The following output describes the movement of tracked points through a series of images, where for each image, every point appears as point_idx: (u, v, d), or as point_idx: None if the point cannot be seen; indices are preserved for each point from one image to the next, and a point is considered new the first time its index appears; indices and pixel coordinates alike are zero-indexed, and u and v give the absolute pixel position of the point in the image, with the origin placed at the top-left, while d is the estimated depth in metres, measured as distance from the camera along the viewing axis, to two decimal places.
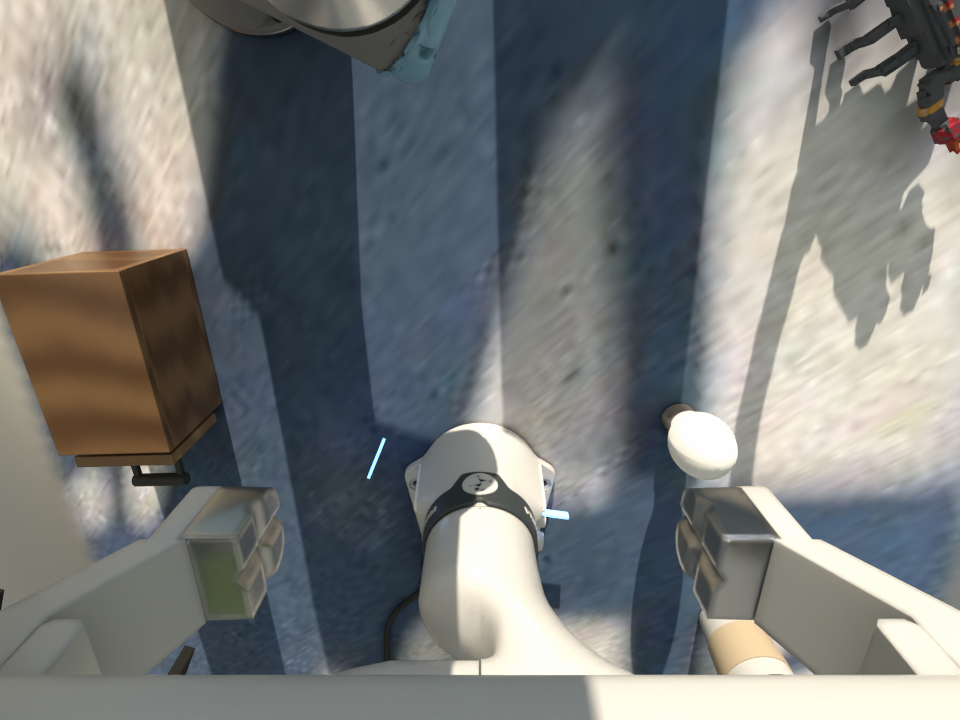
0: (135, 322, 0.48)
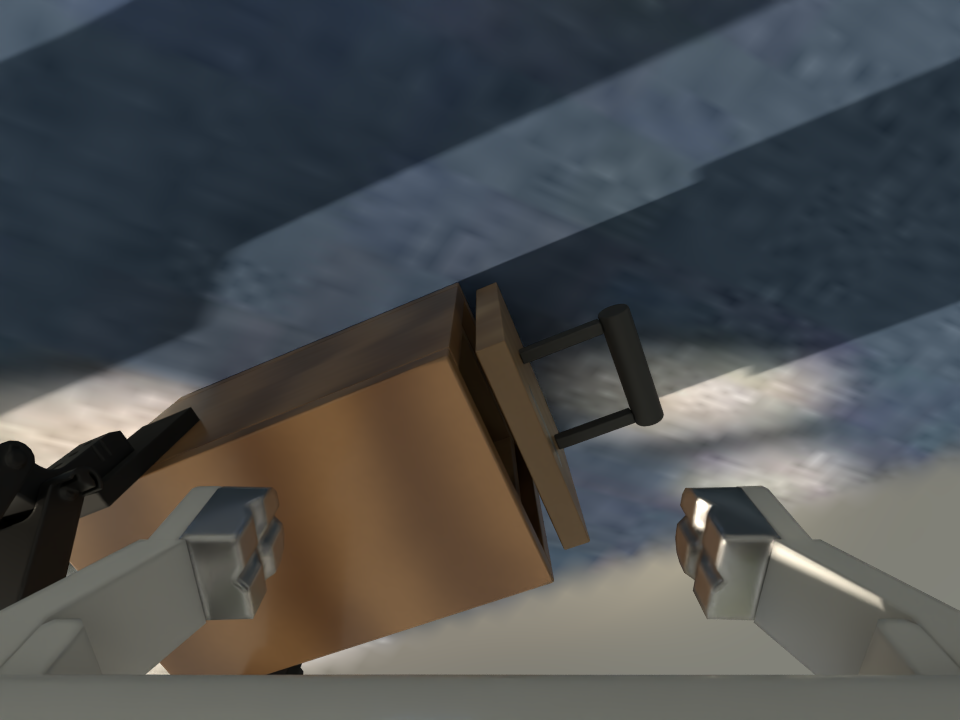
0: None
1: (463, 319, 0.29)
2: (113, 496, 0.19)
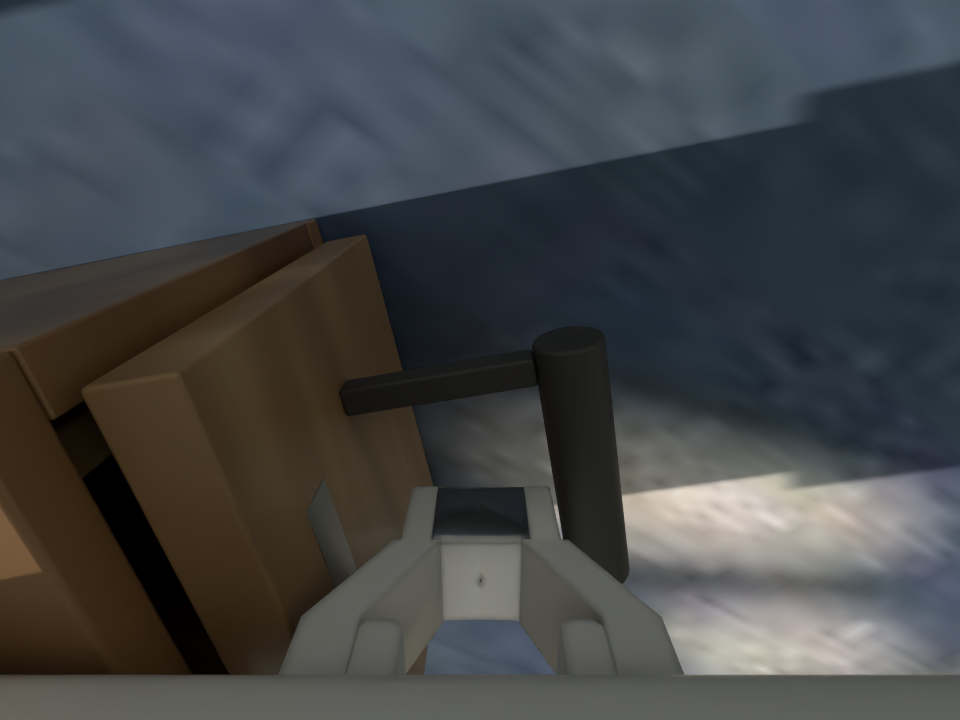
0: None
1: None
2: None
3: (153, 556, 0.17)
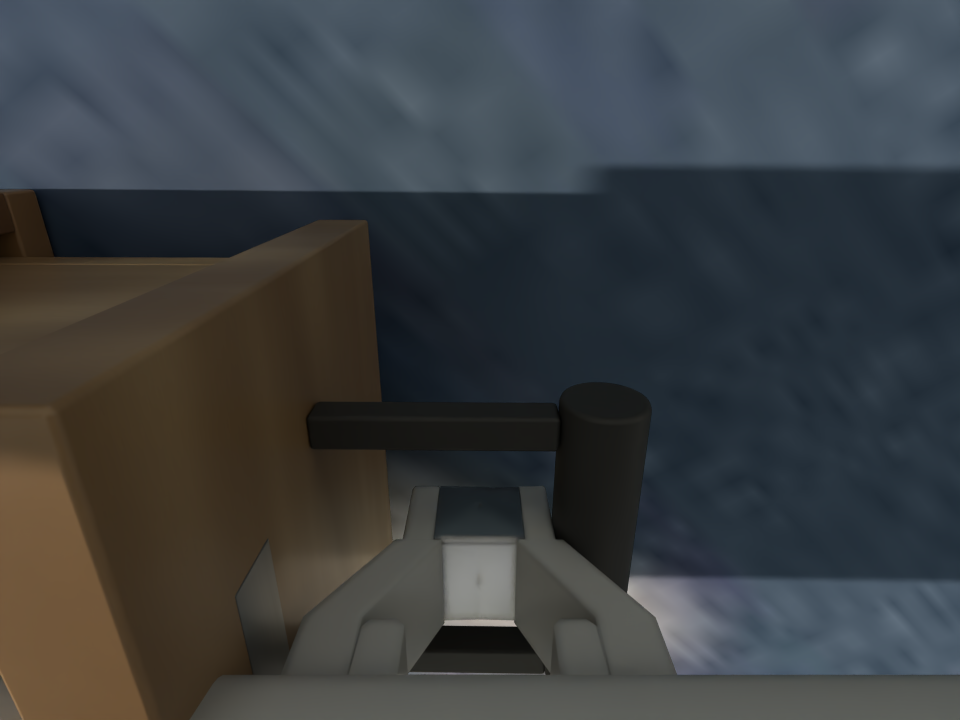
0: None
1: None
2: None
3: None
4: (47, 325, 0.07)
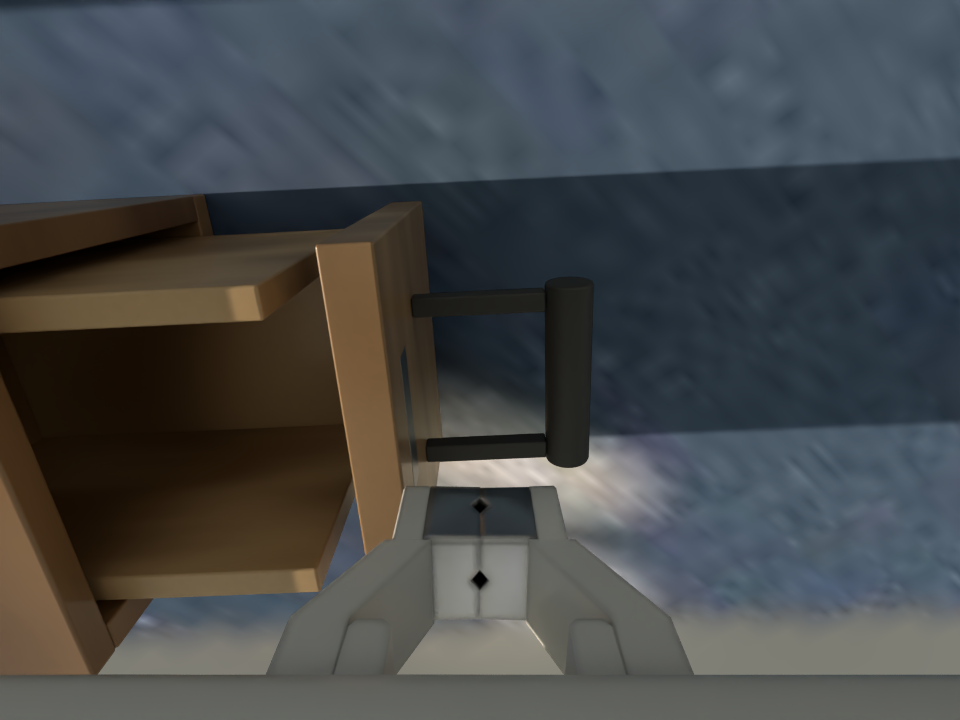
0: None
1: None
2: None
3: (210, 435, 0.21)
4: (279, 254, 0.15)
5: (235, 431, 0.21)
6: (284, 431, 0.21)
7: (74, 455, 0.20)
